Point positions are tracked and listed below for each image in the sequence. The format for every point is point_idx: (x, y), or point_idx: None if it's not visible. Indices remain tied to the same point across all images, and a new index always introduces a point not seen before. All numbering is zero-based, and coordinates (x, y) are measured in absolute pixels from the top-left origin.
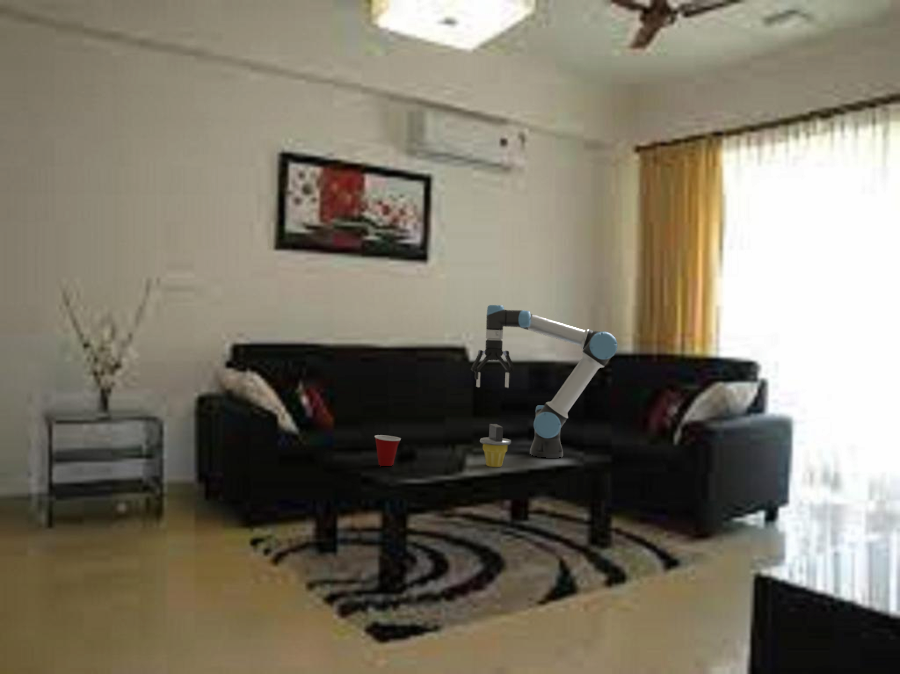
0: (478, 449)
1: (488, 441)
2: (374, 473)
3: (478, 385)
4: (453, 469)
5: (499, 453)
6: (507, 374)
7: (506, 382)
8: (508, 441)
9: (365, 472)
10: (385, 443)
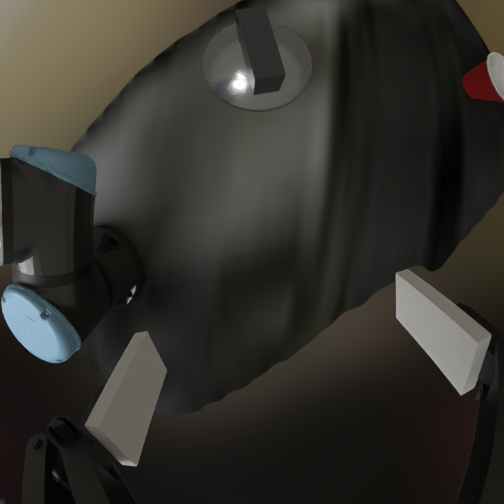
0: (274, 319)
1: (286, 27)
2: (468, 33)
3: (412, 275)
4: (358, 38)
5: None
6: (105, 414)
7: (142, 370)
8: (215, 40)
9: (478, 43)
10: (497, 60)
